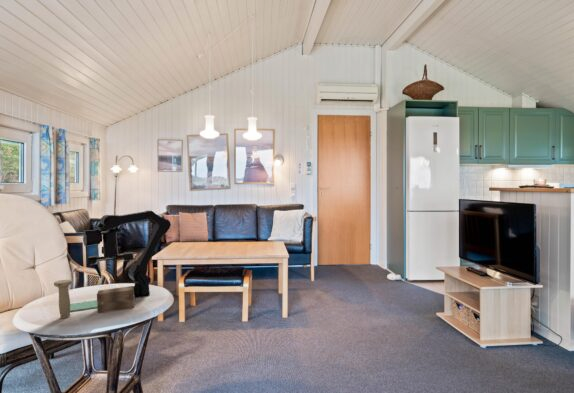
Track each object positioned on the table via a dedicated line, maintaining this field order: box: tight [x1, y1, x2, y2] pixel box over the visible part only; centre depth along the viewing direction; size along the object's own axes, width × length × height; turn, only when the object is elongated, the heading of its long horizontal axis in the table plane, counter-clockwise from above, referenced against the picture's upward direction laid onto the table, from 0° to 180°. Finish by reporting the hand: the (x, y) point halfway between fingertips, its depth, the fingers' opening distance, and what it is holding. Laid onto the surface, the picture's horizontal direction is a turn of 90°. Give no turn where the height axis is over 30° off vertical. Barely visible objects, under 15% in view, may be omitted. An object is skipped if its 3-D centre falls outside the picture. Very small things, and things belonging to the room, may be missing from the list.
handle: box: [53, 279, 73, 320], centre depth 144 cm, size 5×6×15 cm
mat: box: [70, 299, 98, 313], centre depth 156 cm, size 14×10×1 cm
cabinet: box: [96, 285, 135, 314], centre depth 152 cm, size 14×8×8 cm, turn 111°
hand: (112, 276), depth 160 cm, fingers open, 9 cm apart
